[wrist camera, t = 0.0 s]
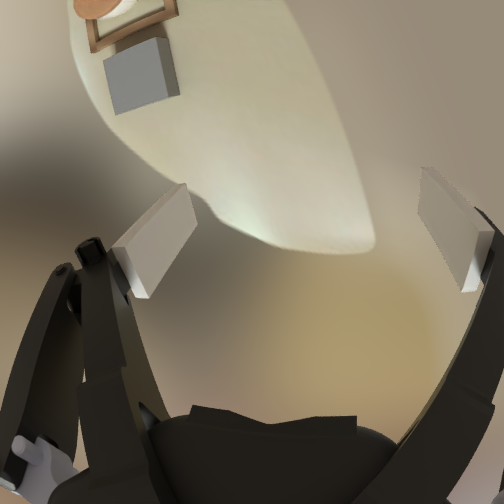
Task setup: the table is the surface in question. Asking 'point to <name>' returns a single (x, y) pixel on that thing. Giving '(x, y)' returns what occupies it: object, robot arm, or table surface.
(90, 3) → the lidded jar
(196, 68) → the table surface
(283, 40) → the table surface
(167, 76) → the gray stand
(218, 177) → the table surface
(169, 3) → the walnut collar
